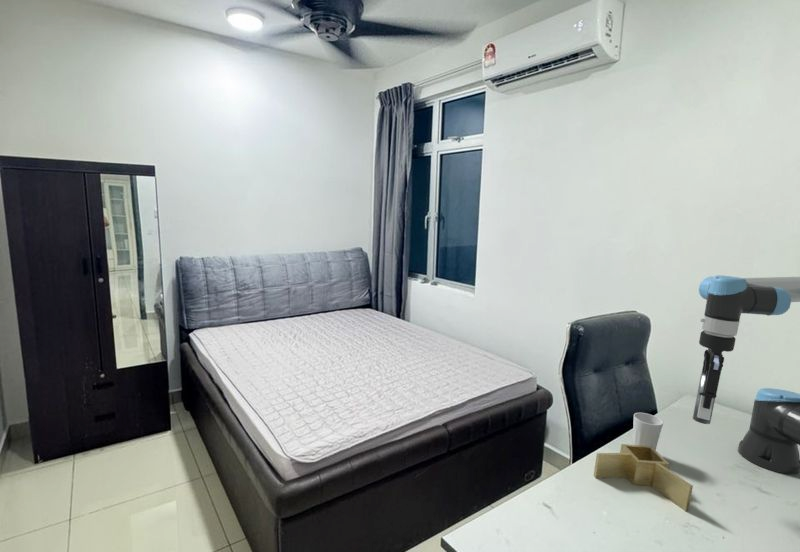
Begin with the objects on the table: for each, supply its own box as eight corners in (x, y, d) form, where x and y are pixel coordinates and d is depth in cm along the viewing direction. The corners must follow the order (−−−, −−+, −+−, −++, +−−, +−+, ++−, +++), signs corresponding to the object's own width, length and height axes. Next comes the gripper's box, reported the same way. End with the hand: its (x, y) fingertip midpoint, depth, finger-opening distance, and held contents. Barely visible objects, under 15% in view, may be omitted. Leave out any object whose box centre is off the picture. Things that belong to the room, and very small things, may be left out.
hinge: (648, 467, 125) (652, 446, 124) (689, 511, 107) (693, 486, 106) (584, 463, 125) (587, 441, 124) (614, 506, 107) (618, 481, 106)
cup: (629, 457, 130) (635, 421, 128) (626, 444, 138) (632, 410, 136) (659, 464, 127) (665, 427, 126) (654, 451, 135) (660, 416, 133)
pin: (703, 417, 118) (712, 373, 116) (713, 424, 114) (722, 379, 112) (689, 416, 118) (697, 372, 116) (699, 423, 114) (707, 378, 112)
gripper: (698, 324, 121) (684, 400, 125) (704, 337, 107) (688, 422, 110) (730, 329, 117) (715, 407, 121) (741, 344, 103) (723, 432, 106)
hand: (702, 414), depth 115 cm, fingers closed on pin, 4 cm apart
